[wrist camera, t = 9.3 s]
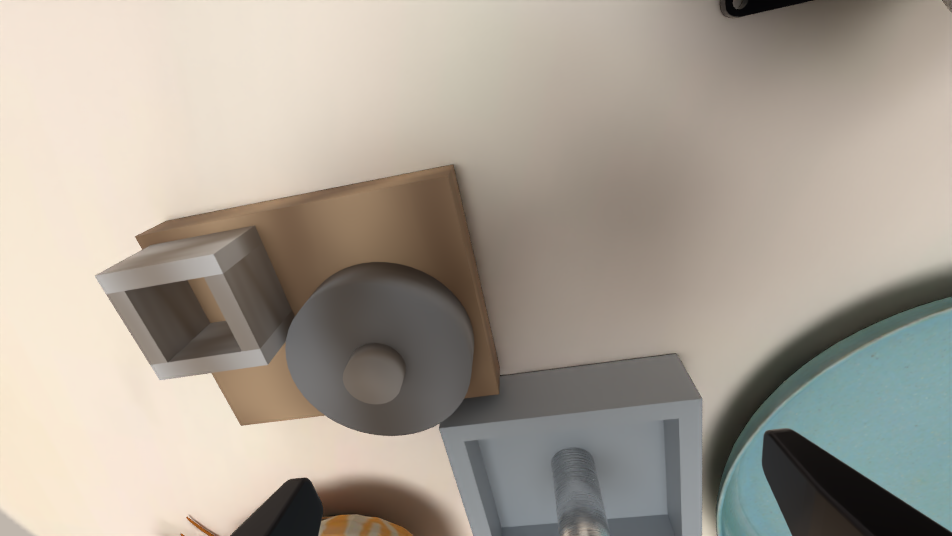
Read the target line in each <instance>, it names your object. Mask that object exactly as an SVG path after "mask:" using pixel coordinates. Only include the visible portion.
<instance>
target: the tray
mask: <svg viewBox="0 0 952 536" xmlns="http://www.w3.org/2000/svg"><path fill="white" fill-rule="evenodd" d="M439 430H440V433H441V436H442V439H443V442H444V445H445V448H446V452H447V455H448V458H449V461H450V464H451V467H452V470H453V473H454V477H455V480H456V483H457V486H458V489H459V492H460V495H461V498H462V502H463V505H464V508H465V511H466V514H467V517H468V520H469V523H470V527H471V530H472V533H473V536H559V529H558V520H557V511H556V502H555V493H554V484H553V475H552V466H551V461H552V458H553V456H554V455H555V454H556V453H557V452H558V451H560V450H562V449H565V448H570V447H576V448H582V449H584V450H586V451H588V452H589V453H590V454H591V455H592V456H593V458H594V462H595V466H596V471H597V476H598V480H599V485H600V489H601V494H602V499H603V503H604V508H605V512H606V517H607V522H608V526H609V531H610V536H702V397H701V396H700V394H699V392H698V390H697V389H696V387H695V385H694V383H693V382H692V380H691V378H690V376H689V374H688V373H687V371H686V369H685V367H684V366H683V364H682V362H681V360H680V359H679V357H678V355H677V354H670V355H662V356H654V357H646V358H639V359H631V360H623V361H615V362H607V363H599V364H591V365H584V366H576V367H568V368H560V369H552V370H544V371H536V372H529V373H521V374H513V375H505V376H500V387H499V394H497V395H489V396H481V397H472V398H464V399H463V401H462V403H461V404H460V406H459V407H458V408H457V409H456V410H455V411H454V412H453V413H452V414H451V415H450V416H449V417H448V418H447V419H445V420H444V421H443V422H441V423H440V426H439Z"/></svg>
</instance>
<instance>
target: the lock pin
mask: <svg viewBox="0 0 952 536" xmlns="http://www.w3.org/2000/svg"><path fill="white" fill-rule="evenodd" d="M551 466H552V475H553V484H554V493H555V502H556V511H557V520H558V529H559V536H610V531H609V526H608V522H607V517H606V512H605V508H604V503H603V499H602V494H601V489H600V485H599V480H598V476H597V471H596V466H595V462H594V458H593V456H592V455H591V454H590V453H589V452H588V451H586V450H584V449H582V448H576V447H570V448H565V449H562V450H560V451H558V452H557V453H556V454H555V455H554V456H553V458H552V461H551Z"/></svg>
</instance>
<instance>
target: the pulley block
mask: <svg viewBox="0 0 952 536" xmlns="http://www.w3.org/2000/svg"><path fill="white" fill-rule="evenodd" d="M135 237H136V239H137V241H138V243H139V245H140V246H141V248H142V250H141V251H139V252H137V253H136V254H134V255H132V256H130V257H128V258H126V259H125V260H123V261H121V262H119V263H117V264H115V265H114V266H112V267H110V268H108V269H106V270H104V271H103V272H101V273H99V274H97V275H95V277H96V279H97V280H98V282H99V284H100V285H101V287H102V288H103V290H104V292H105V293H106V295H107V296H108V298H109V300H110V301H111V303H112V304H113V306H114V308H115V309H116V311H117V312H118V314H119V316H120V317H121V319H122V320H123V322H124V324H125V325H126V327H127V328H128V330H129V332H130V333H131V335H132V336H133V338H134V340H135V341H136V343H137V344H138V346H139V348H140V349H141V351H142V352H143V354H144V356H145V357H146V359H147V360H148V362H149V364H150V365H151V367H152V368H153V370H154V372H155V373H156V375H157V376H158V378H159V380H165V379H172V378H179V377H186V376H193V375H200V374H207V373H212V375H213V377H214V378H215V380H216V382H217V384H218V386H219V387H220V389H221V391H222V393H223V394H224V396H225V398H226V400H227V402H228V403H229V405H230V407H231V409H232V411H233V412H234V414H235V416H236V418H237V419H238V421H239V423H240V425H241V426H242V425H250V424H259V423H267V422H275V421H283V420H292V419H300V418H308V417H316V416H324V415H325V416H327V417H328V418H330V419H332V420H333V421H335V422H337V423H339V424H341V425H343V426H346V427H348V428H351V429H354V430H357V431H360V432H364V433H368V434H374V435H383V436H399V435H408V434H414V433H417V432H421V431H424V430H427V429H429V428H432V427H434V426H436V425H437V424H439V423H441V422H443V421H444V420H445V419H447V418H448V417H449V416H450V415H451V414H452V413H453V412H454V411H455V410H456V409H457V408H458V407H459V406H460V404H461V403H462V401H463V399H464V398H472V397H481V396H489V395H497V394H499V387H500V367H499V362H498V358H497V354H496V349H495V345H494V341H493V336H492V332H491V328H490V323H489V319H488V314H487V310H486V306H485V301H484V297H483V293H482V288H481V284H480V279H479V275H478V271H477V266H476V262H475V258H474V253H473V249H472V244H471V240H470V236H469V231H468V227H467V223H466V218H465V214H464V209H463V205H462V201H461V196H460V192H459V188H458V183H457V179H456V174H455V170H454V166H453V165H448V166H443V167H438V168H432V169H427V170H422V171H417V172H412V173H407V174H402V175H397V176H392V177H387V178H382V179H377V180H372V181H367V182H361V183H356V184H351V185H346V186H341V187H336V188H331V189H326V190H321V191H316V192H311V193H306V194H301V195H296V196H290V197H285V198H280V199H275V200H270V201H265V202H260V203H255V204H250V205H245V206H240V207H235V208H230V209H224V210H219V211H214V212H209V213H204V214H199V215H194V216H189V217H184V218H179V219H174V220H169V221H165V222H163V223H161V224H159V225H157V226H155V227H153V228H151V229H149V230H147V231H145V232H143V233H141V234H139V235H137V236H135Z"/></svg>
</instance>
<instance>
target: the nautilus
mask: <svg viewBox="0 0 952 536" xmlns="http://www.w3.org/2000/svg"><path fill="white" fill-rule="evenodd" d="M186 518H187V519H188V520H189V521H190V522H191V523H192V524H193V525H195V526H196V527H197V528H199V529H200V530H201V531H203V532H204V533H206V534H207V535H209V536H214V535H213V534H211V533H209V532H208V531H206V530H205V529H203V528H202V527H201V526H199V525H198V524H196V523H195V522H194V521H192V520H191V519H190V518H188V517H186ZM180 535H181V536H184V535H183V534H180ZM318 536H414V535H412V534H411V533H410V532H409V531H408V530H407V529H405V528H403V527H401V526H399V525H396V524H394V523H391V522H389V521H386V520H384V519H381V518H379V517H368V516H362V515H358V514H354V515H337V516H331V517H322V521H321V525H320V530H319V535H318Z"/></svg>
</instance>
